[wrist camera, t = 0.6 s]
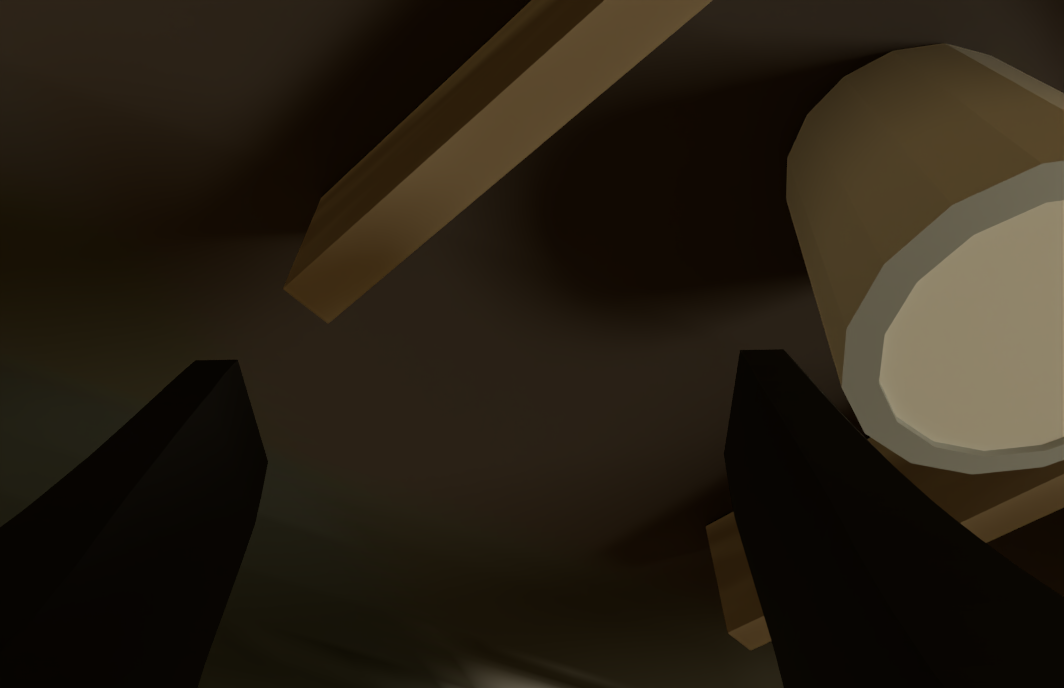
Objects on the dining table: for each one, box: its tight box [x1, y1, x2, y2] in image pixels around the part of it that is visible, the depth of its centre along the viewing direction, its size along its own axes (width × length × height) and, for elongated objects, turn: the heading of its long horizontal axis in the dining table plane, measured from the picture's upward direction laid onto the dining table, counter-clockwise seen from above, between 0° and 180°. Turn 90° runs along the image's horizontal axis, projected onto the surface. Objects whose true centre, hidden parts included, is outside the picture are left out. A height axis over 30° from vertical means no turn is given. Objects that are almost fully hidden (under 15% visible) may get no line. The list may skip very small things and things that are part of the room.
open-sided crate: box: [283, 0, 1064, 651], centre depth 19 cm, size 17×19×4 cm
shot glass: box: [786, 43, 1064, 474], centre depth 17 cm, size 7×7×7 cm
